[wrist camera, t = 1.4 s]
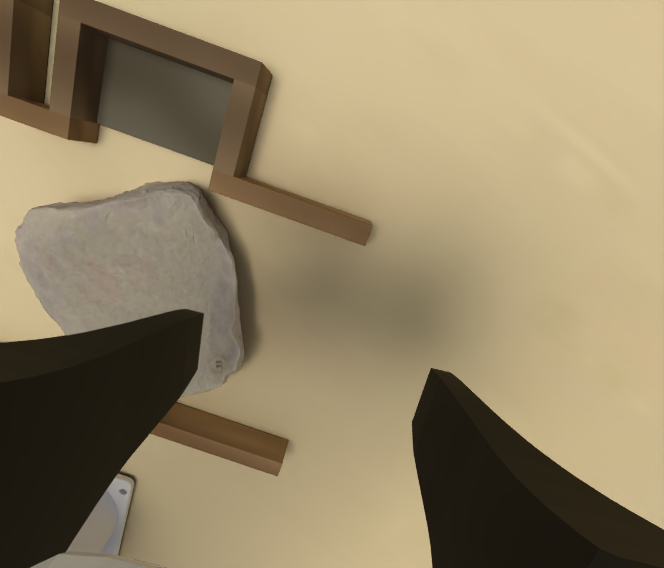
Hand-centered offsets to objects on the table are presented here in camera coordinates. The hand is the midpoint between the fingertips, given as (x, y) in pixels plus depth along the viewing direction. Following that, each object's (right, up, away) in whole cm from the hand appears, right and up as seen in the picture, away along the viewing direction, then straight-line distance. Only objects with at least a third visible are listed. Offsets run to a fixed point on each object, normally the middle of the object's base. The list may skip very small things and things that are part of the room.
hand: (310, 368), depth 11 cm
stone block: (-9, +2, +10) cm, 14 cm away
